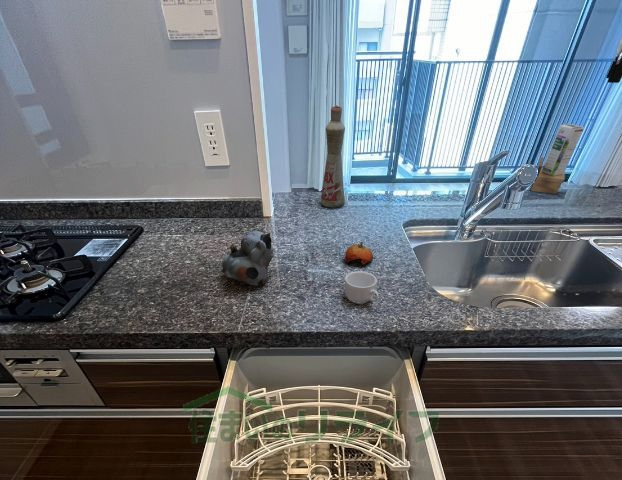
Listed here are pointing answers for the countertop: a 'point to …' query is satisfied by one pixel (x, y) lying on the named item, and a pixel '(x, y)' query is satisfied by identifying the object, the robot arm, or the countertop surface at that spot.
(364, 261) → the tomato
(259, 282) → the lucky cat figurine
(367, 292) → the teacup
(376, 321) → the countertop surface
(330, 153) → the bottle
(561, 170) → the syrup box
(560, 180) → the small cardboard box
